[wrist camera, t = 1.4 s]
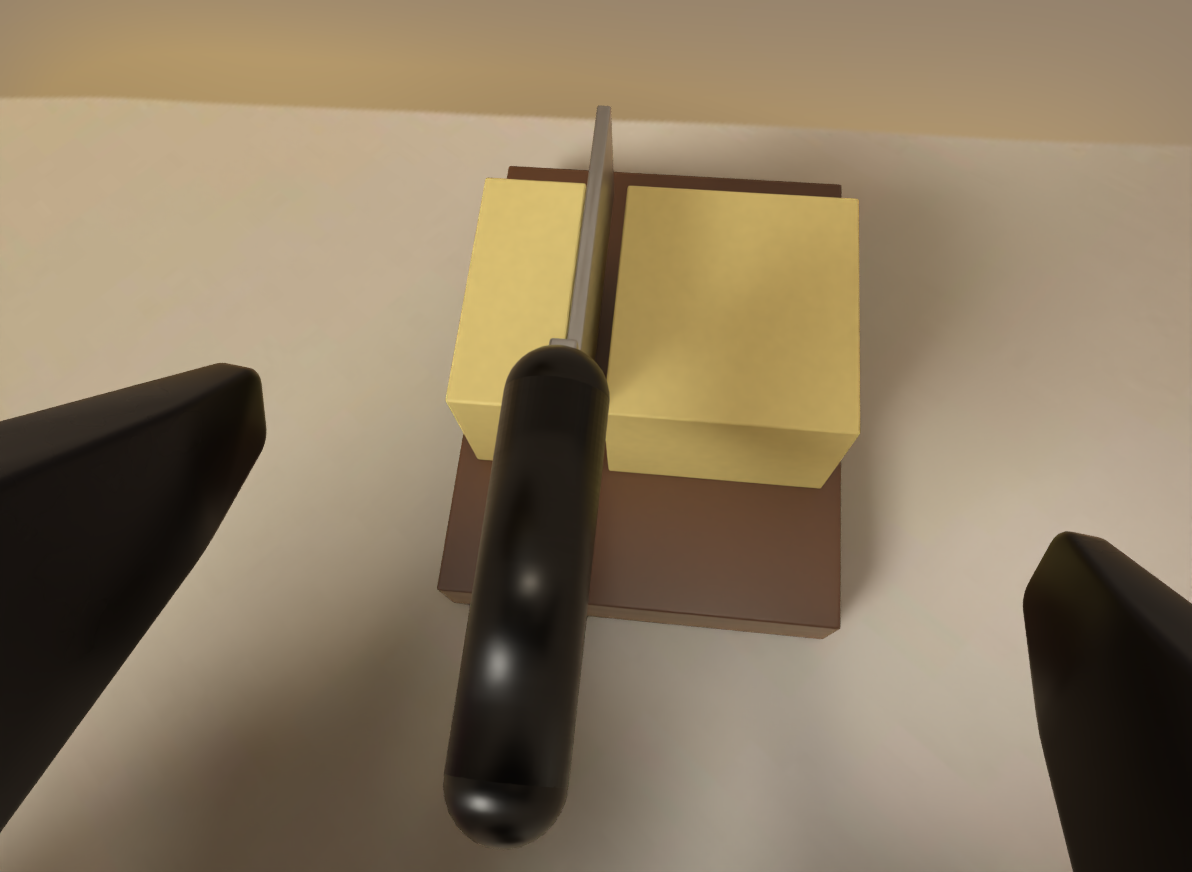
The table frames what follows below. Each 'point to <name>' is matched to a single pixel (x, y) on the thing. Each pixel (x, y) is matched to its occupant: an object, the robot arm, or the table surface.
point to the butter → (680, 326)
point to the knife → (536, 565)
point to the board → (683, 506)
